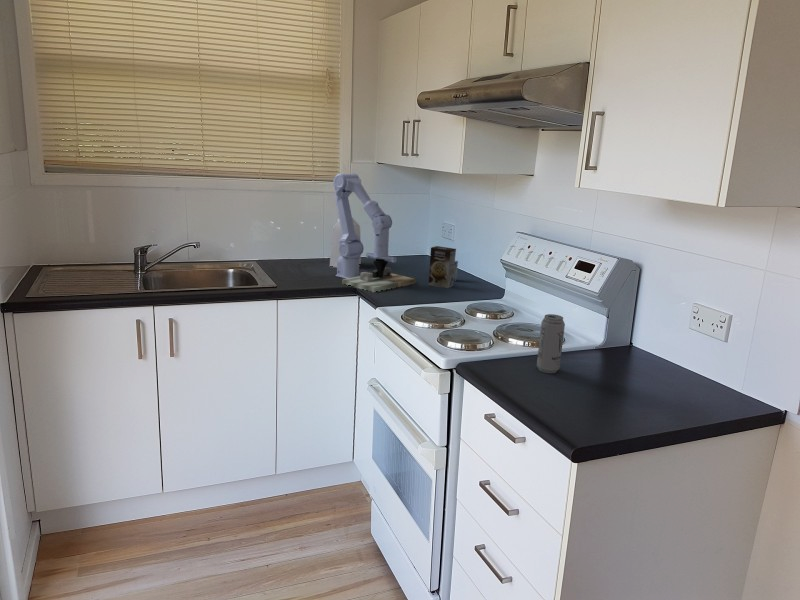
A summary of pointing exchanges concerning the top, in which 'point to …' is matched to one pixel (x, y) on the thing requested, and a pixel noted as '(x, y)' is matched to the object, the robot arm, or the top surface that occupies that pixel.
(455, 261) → the medicine box
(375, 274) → the lock bar
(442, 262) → the coffee box
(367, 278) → the door and jamb
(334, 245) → the milk
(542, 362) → the energy drink can
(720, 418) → the top surface
